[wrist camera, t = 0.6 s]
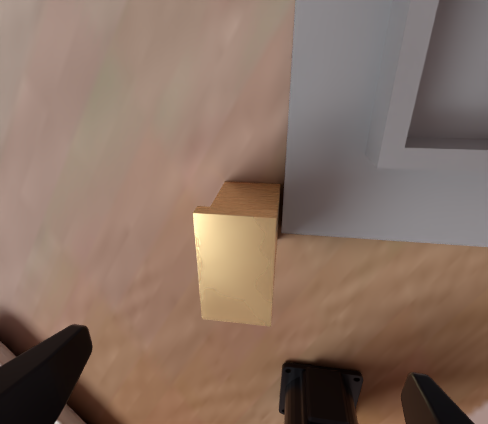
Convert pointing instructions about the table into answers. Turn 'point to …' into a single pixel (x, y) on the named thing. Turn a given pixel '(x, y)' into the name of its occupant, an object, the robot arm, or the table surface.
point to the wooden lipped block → (238, 252)
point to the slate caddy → (389, 121)
